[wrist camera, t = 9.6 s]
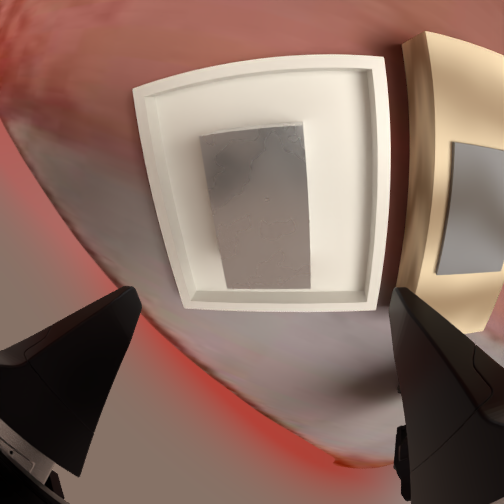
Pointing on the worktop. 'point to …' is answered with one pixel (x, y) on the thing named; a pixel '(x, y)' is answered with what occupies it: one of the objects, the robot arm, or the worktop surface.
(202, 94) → the parts tray
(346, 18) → the worktop surface
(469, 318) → the light wood plank
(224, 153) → the light grey block
